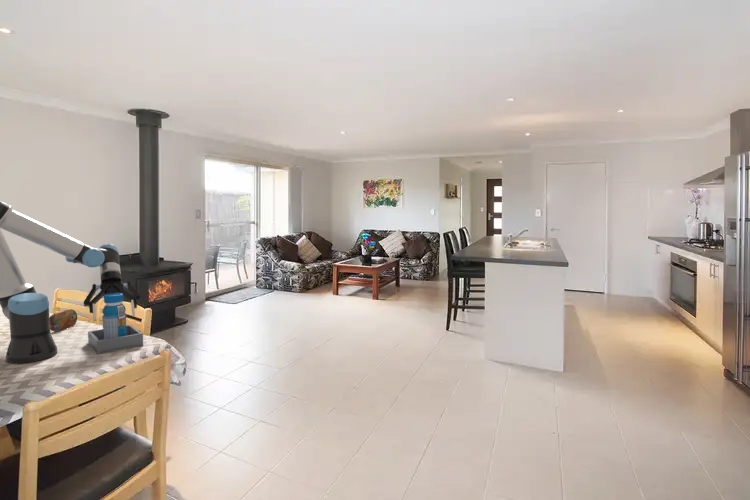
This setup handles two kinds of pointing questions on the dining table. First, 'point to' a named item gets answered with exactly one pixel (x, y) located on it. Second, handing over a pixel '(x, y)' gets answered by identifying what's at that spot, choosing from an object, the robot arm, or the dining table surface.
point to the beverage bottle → (114, 316)
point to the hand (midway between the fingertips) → (114, 316)
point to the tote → (115, 340)
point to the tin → (63, 320)
